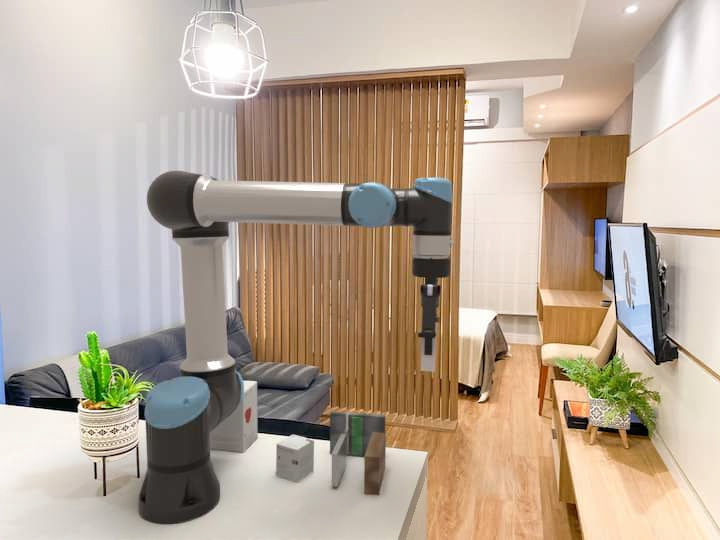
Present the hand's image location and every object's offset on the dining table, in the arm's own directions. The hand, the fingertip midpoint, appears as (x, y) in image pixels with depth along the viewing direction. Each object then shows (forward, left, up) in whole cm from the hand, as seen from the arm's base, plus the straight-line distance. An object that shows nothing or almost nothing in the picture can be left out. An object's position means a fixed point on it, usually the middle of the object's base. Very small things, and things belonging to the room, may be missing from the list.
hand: (428, 361), depth 105 cm
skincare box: (-29, +2, -27) cm, 39 cm away
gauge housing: (-16, +4, -27) cm, 32 cm away
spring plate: (-19, +4, -27) cm, 33 cm away
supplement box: (-48, +14, -27) cm, 56 cm away
